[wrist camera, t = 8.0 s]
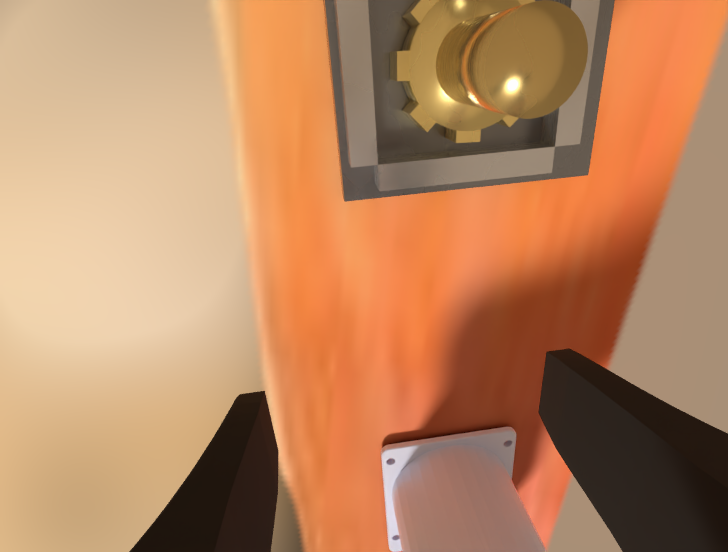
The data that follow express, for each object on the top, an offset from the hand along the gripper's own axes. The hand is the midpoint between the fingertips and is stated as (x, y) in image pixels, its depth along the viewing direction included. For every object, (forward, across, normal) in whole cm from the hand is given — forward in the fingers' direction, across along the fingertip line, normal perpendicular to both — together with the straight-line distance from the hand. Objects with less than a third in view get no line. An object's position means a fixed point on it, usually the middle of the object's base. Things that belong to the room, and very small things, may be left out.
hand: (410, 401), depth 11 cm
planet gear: (+9, -4, -8) cm, 12 cm away
